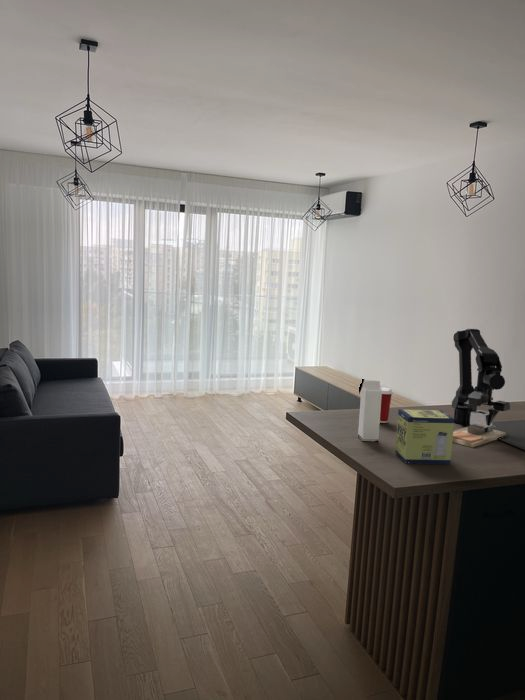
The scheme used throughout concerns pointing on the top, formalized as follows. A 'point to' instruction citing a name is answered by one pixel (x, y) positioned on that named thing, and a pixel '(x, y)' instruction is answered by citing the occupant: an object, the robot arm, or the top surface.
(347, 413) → the top surface
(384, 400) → the paper cup
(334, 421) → the top surface
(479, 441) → the board
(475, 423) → the steel collar
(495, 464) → the top surface
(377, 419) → the milk
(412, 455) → the protein box
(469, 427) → the bench vise
